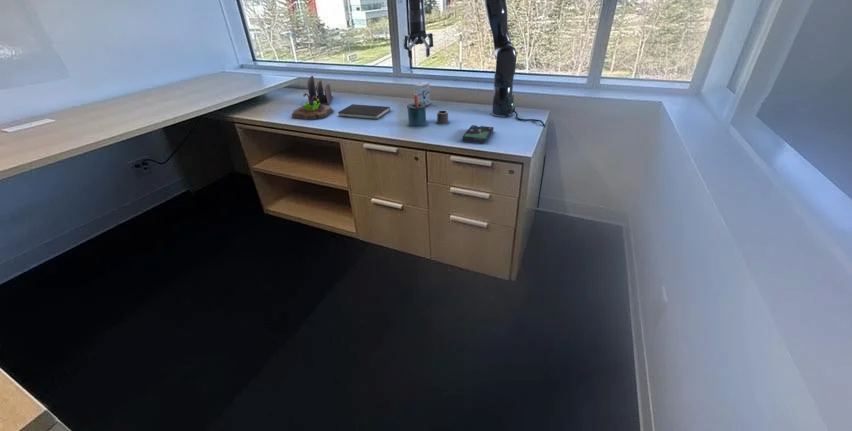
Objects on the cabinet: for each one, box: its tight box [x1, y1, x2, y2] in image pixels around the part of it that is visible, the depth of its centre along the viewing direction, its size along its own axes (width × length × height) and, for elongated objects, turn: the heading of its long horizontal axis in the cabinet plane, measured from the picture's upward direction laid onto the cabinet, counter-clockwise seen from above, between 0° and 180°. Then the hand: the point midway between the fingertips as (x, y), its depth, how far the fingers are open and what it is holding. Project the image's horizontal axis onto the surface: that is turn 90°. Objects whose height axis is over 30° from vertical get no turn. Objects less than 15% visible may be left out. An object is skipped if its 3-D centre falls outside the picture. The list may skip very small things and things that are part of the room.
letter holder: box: [307, 75, 333, 106], centre depth 224 cm, size 10×20×14 cm, turn 6°
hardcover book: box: [337, 103, 391, 121], centre depth 203 cm, size 16×23×2 cm
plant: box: [291, 93, 333, 121], centre depth 203 cm, size 20×20×11 cm
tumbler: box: [407, 105, 427, 128], centre depth 182 cm, size 9×9×9 cm
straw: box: [413, 93, 419, 107], centre depth 180 cm, size 2×2×14 cm
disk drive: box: [461, 124, 495, 144], centre depth 166 cm, size 10×3×15 cm
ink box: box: [413, 81, 431, 106], centre depth 209 cm, size 9×5×12 cm, turn 147°
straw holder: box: [436, 110, 449, 125], centre depth 183 cm, size 5×5×6 cm
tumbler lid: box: [406, 102, 427, 109], centre depth 179 cm, size 9×9×1 cm
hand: (419, 57), depth 183 cm, fingers open, 8 cm apart
